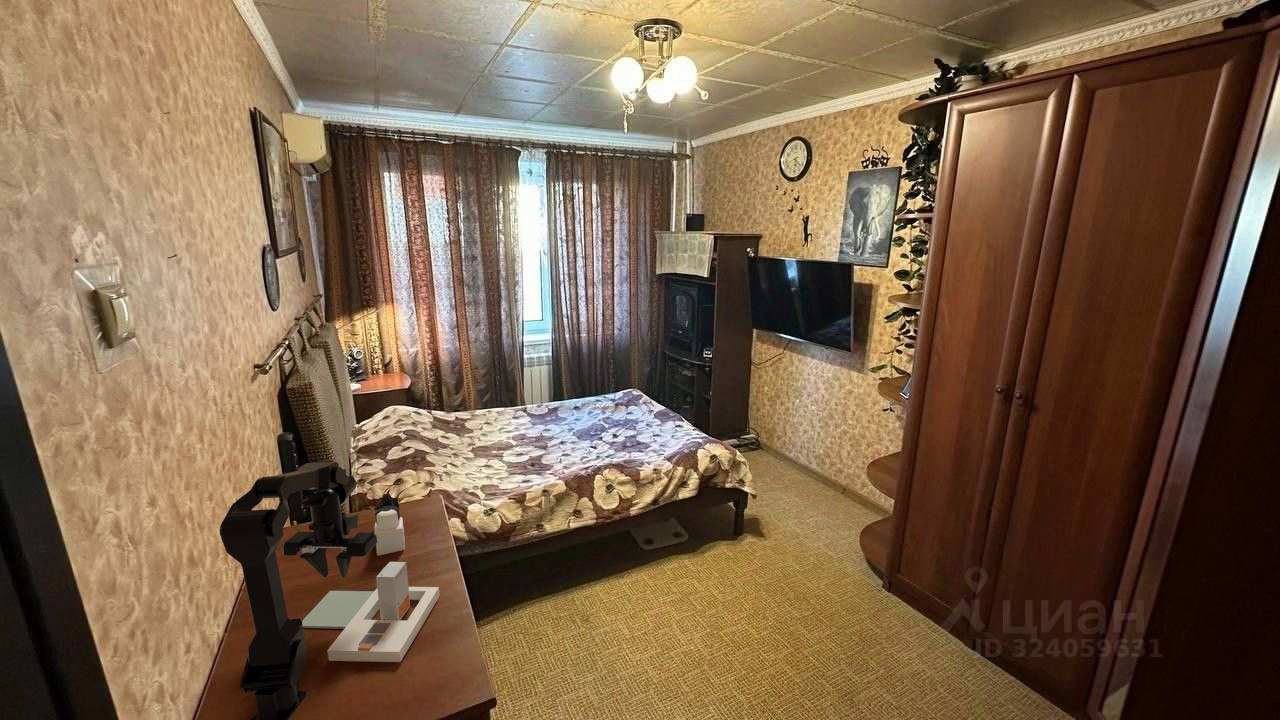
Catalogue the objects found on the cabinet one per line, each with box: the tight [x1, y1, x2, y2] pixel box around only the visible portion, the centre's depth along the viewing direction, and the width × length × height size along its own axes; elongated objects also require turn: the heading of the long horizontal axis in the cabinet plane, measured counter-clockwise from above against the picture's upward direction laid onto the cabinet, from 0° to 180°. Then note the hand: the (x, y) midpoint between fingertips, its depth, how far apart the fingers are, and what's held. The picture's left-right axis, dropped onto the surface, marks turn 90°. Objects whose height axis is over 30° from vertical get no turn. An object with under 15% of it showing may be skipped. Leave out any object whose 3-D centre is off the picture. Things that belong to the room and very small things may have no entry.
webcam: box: [374, 492, 402, 517], centre depth 158 cm, size 8×8×10 cm
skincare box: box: [375, 561, 411, 620], centre depth 119 cm, size 6×4×12 cm
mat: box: [301, 590, 375, 630], centre depth 122 cm, size 12×12×1 cm
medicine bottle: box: [373, 506, 406, 556], centre depth 146 cm, size 7×7×12 cm
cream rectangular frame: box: [327, 586, 440, 663], centre depth 117 cm, size 20×15×3 cm
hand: (335, 576), depth 120 cm, fingers open, 4 cm apart
